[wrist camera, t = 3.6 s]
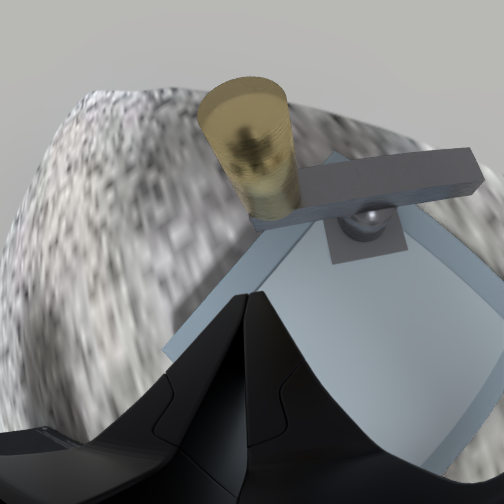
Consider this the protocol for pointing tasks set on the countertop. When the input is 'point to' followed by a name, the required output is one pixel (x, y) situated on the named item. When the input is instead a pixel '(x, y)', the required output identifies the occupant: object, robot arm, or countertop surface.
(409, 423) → the cover panel
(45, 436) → the small box
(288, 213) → the crank handle
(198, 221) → the countertop surface
